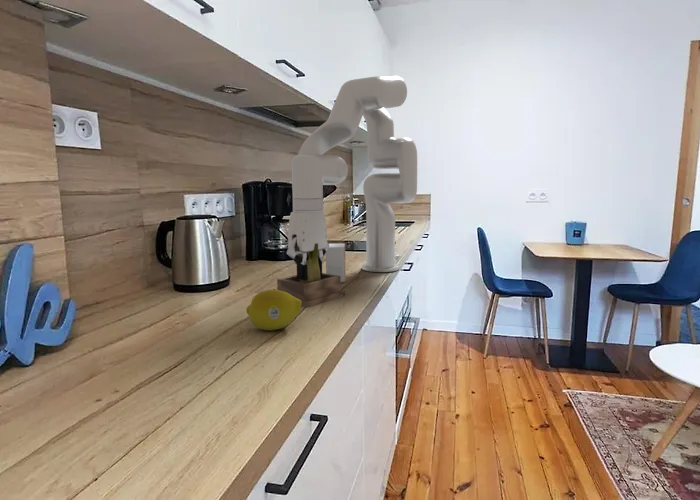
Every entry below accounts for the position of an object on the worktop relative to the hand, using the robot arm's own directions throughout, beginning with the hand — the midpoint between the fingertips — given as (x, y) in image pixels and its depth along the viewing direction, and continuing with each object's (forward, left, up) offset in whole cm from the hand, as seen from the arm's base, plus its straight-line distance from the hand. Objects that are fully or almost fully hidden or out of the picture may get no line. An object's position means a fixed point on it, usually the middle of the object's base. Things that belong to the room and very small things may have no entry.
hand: (309, 276), depth 109 cm
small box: (-19, -7, -5) cm, 21 cm away
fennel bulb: (0, 0, -3) cm, 3 cm away
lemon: (+22, +11, -5) cm, 25 cm away
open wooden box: (0, 0, -5) cm, 5 cm away
